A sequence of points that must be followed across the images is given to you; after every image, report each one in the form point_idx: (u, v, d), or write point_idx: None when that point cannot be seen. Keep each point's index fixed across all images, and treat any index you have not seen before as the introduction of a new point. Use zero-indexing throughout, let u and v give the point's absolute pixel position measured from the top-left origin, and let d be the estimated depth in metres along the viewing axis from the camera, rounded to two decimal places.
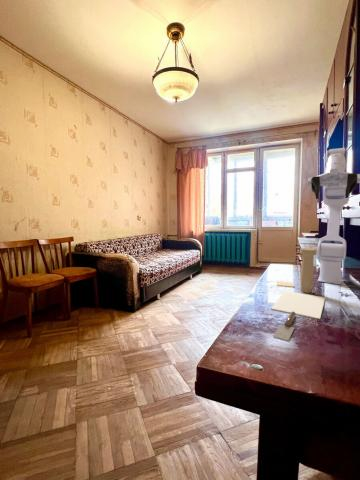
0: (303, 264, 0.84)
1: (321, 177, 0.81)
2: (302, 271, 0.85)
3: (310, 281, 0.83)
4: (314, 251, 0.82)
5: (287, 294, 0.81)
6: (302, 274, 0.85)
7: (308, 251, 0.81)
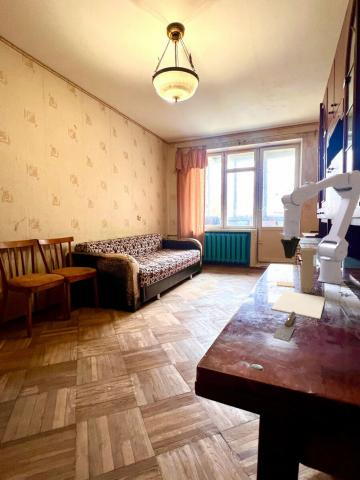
0: (303, 264, 0.84)
1: None
2: (302, 271, 0.85)
3: (310, 281, 0.83)
4: (314, 251, 0.82)
5: (287, 294, 0.81)
6: (302, 274, 0.85)
7: (308, 251, 0.81)
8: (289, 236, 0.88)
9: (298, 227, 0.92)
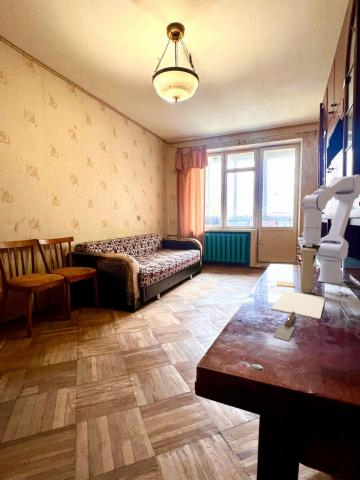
0: (303, 264, 0.84)
1: None
2: (302, 271, 0.85)
3: (310, 281, 0.83)
4: (314, 251, 0.82)
5: (287, 294, 0.81)
6: (302, 274, 0.85)
7: (308, 251, 0.81)
8: (311, 243, 0.84)
9: (319, 233, 0.88)
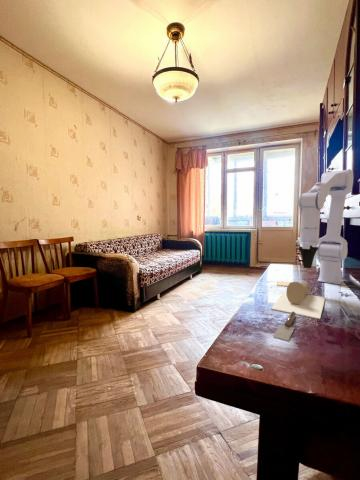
0: None
1: None
2: None
3: (307, 293, 0.80)
4: (303, 299, 0.71)
5: None
6: None
7: None
8: (308, 245, 0.78)
9: (317, 234, 0.82)
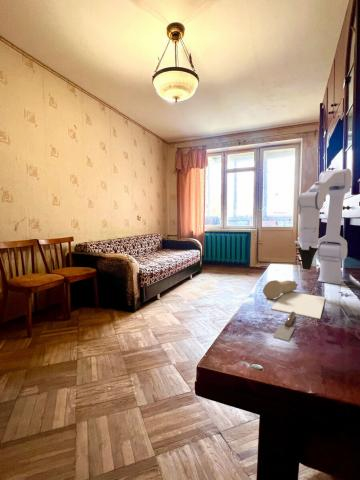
0: (285, 288, 0.79)
1: None
2: (289, 287, 0.81)
3: None
4: None
5: (287, 294, 0.81)
6: (290, 287, 0.81)
7: (278, 282, 0.76)
8: (307, 246, 0.76)
9: (317, 235, 0.80)
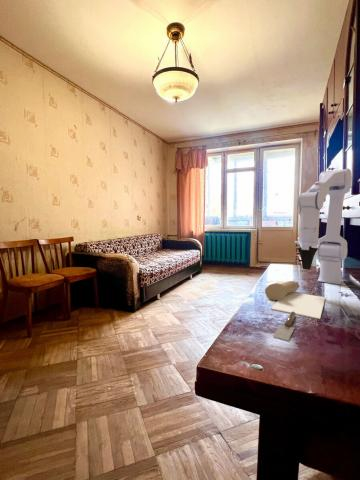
0: (287, 291, 0.79)
1: None
2: (291, 290, 0.80)
3: (291, 282, 0.83)
4: (277, 283, 0.76)
5: (287, 294, 0.81)
6: (292, 290, 0.81)
7: (283, 287, 0.75)
8: (307, 246, 0.76)
9: (317, 235, 0.80)
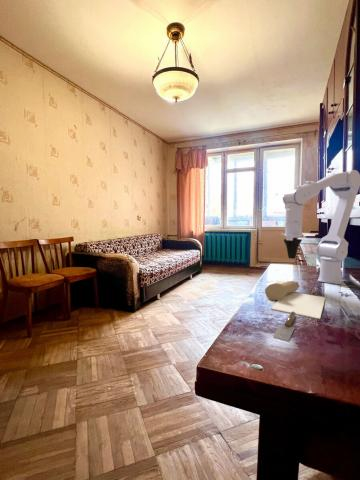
0: (287, 291, 0.79)
1: None
2: (291, 290, 0.80)
3: (291, 282, 0.83)
4: (277, 283, 0.76)
5: (287, 294, 0.81)
6: (292, 290, 0.81)
7: (283, 287, 0.75)
8: (291, 236, 0.86)
9: (300, 227, 0.90)
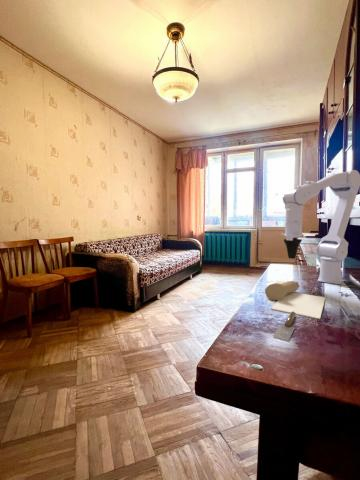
0: (287, 291, 0.79)
1: None
2: (291, 290, 0.80)
3: (291, 282, 0.83)
4: (277, 283, 0.76)
5: (287, 294, 0.81)
6: (292, 290, 0.81)
7: (283, 287, 0.75)
8: (291, 236, 0.86)
9: (300, 227, 0.90)
